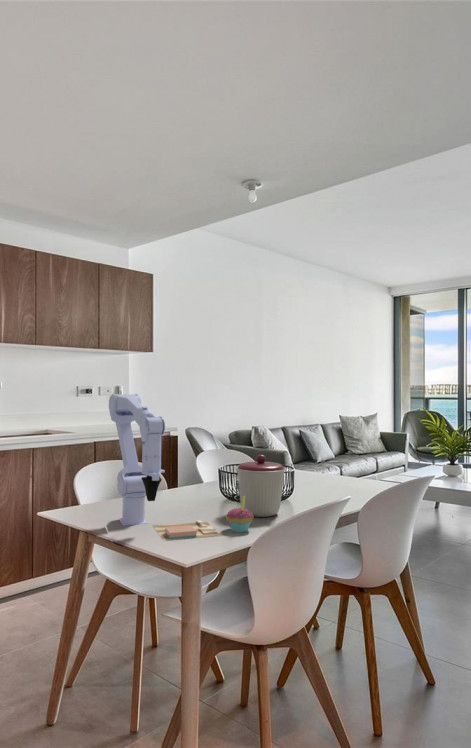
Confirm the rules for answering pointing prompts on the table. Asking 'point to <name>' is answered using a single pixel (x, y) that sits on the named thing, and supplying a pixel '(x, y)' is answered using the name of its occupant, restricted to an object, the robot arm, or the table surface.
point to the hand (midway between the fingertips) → (151, 500)
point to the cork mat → (161, 528)
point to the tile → (180, 532)
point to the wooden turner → (205, 528)
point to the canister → (261, 486)
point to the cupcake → (240, 518)
